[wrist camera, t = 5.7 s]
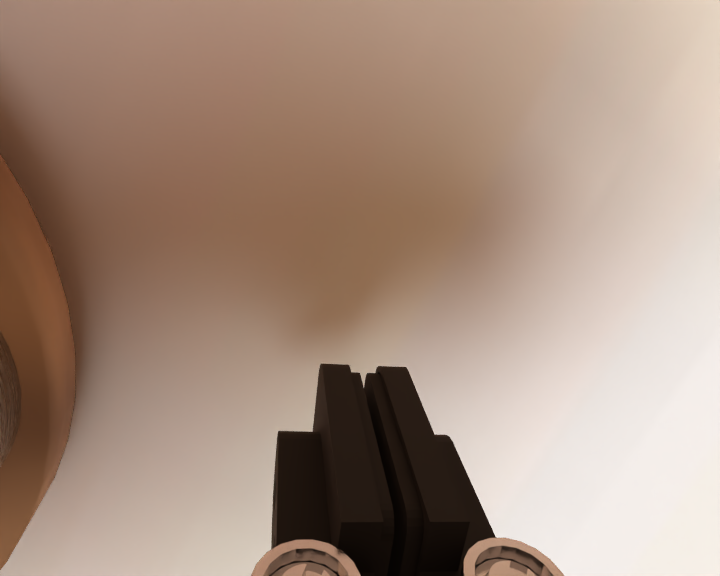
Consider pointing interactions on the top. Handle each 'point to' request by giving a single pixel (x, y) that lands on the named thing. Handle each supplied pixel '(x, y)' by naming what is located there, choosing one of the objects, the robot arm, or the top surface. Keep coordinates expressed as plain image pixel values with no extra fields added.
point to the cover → (8, 400)
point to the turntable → (32, 361)
